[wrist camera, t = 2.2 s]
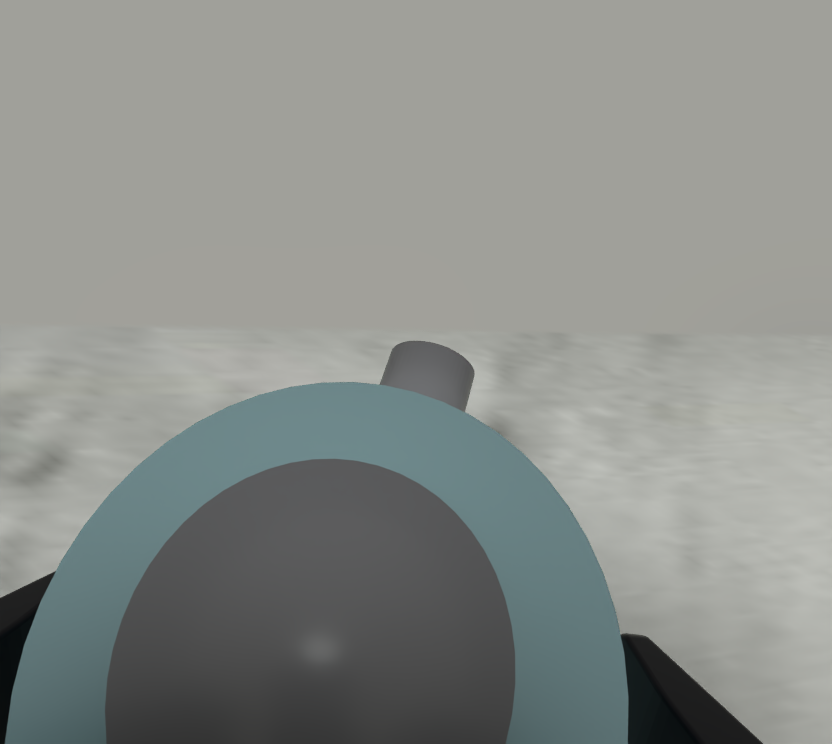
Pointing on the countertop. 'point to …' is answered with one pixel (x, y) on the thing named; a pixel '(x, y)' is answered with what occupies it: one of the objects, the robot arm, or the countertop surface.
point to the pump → (330, 585)
